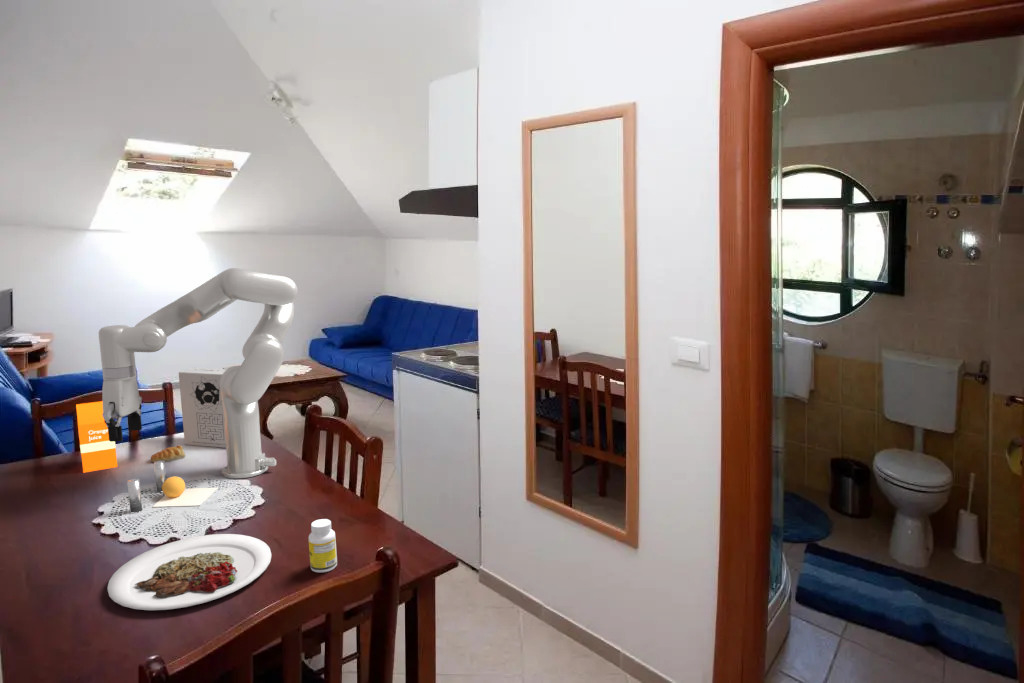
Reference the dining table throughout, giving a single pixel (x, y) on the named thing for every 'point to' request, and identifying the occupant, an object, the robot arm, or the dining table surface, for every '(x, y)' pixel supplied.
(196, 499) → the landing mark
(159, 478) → the post right
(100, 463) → the orange juice
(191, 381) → the cereal box
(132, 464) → the dining table surface
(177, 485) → the ball
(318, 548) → the supplement bottle
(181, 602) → the plated food
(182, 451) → the pastry
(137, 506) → the post left
